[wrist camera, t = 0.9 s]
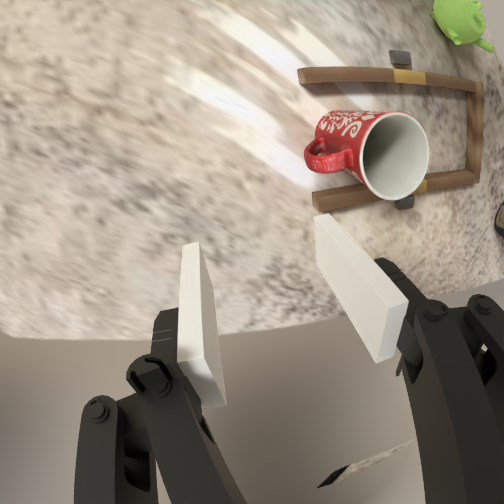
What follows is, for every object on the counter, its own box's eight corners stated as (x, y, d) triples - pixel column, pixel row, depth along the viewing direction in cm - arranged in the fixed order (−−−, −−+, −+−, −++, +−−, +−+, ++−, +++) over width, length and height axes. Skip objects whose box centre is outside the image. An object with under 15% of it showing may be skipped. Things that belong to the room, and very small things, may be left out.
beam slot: (293, 47, 29) (299, 44, 27) (470, 66, 31) (480, 67, 29) (314, 224, 42) (320, 231, 40) (468, 192, 44) (477, 197, 42)
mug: (364, 100, 34) (430, 111, 22) (369, 162, 38) (429, 193, 27) (276, 110, 33) (317, 118, 21) (287, 176, 38) (327, 216, 26)
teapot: (458, -1, 24) (491, -4, 17) (469, 54, 30) (504, 57, 23) (414, -16, 23) (449, -25, 16) (428, 44, 29) (466, 44, 22)
